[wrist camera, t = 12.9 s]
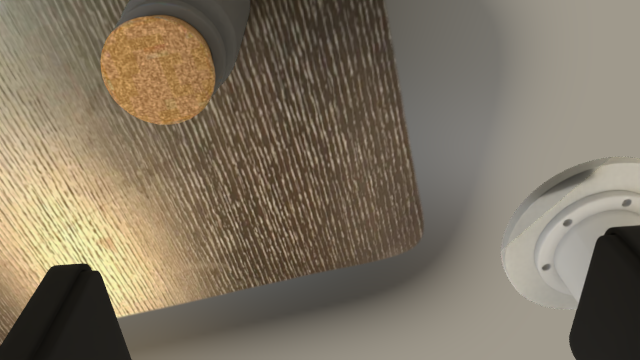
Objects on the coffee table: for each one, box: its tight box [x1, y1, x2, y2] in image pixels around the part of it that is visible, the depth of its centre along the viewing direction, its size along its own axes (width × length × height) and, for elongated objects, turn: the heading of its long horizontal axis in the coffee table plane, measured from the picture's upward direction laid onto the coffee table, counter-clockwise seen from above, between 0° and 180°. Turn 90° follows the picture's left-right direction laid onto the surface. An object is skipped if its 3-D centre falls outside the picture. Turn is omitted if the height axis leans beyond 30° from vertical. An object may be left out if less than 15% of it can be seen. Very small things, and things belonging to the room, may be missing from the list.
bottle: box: [100, 0, 250, 124], centre depth 28 cm, size 6×6×15 cm
